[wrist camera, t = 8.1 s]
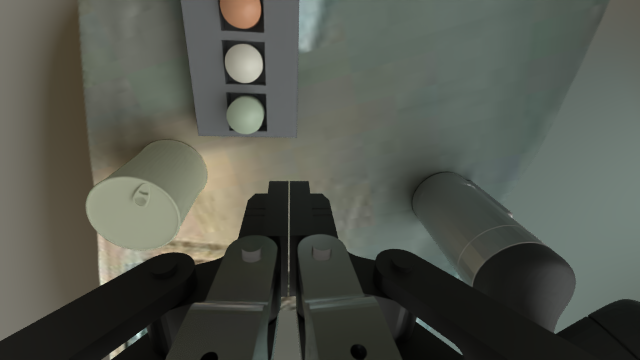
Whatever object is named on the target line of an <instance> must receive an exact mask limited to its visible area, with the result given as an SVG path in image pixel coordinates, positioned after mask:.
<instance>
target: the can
mask: <svg viewBox="0 0 640 360" xmlns="http://www.w3.org/2000/svg"><path fill="white" fill-rule="evenodd" d="M207 175H208V174H207V168H206V165H205V163H204V161H203V159H202V157H201V156H200V155H199V154H198V153H197V152H196V151H195V150H194V149H193V148H191V147H190V146H188V145H186V144H184V143H182V142H179V141H175V140H159V141H155V142H152V143H150V144H149V145H147V146H146V147H145V148H144V149H143V150H142V151H141V152H140V153H139V154H138V155H137V156H135V157H134V158H133V159H131V160H130V161H129V162H127V163H126V164H125V165H124V166H122V167H121V168H120V169H118V170H117V171H116V172H114V173H113V174H112V175H110V176H109V177H107V178H106V179H105V180H103V181H101V182H99V183H98V184H96V185H95V186H94V187H93V189H92V190H91V191H90V192H89V194H88V197H87V200H86V213H87V216H88V219H89V221H90V223H91V224H92V226H93V227H94V229H95V230H96V231H97V232H98V233H99V234H100V235H101V236H102V237H104V238H105V239H106V240H108V241H110V242H111V243H113V244H115V245H118V246H120V247H123V248H127V249H131V250H140V251H144V250H153V249H157V248H160V247H162V246H164V245H166V244H168V243H169V242H170V241H171V240H173V239H174V237H175V236H176V235H177V233H178V231H179V229H180V226H181V224H182V222H183V221H184V219H185V217H186V215H187V213H188V212H189V210H190V208H191V206H192V205H193V203H194V201H195V200H196V198H197V196H198V195H199V193H200V192H201V191H202V190H203V189H204V187H205V185H206V182H207Z"/></svg>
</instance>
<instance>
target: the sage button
mask: <svg viewBox="0 0 640 360" xmlns="http://www.w3.org/2000/svg"><path fill="white" fill-rule="evenodd" d="M264 114H265V111H264V106H263V104H262V103H261V101H260V100H259V99H258V98H256V97H255V96H252V95H241V96H239V97H237V98H236V99H235V100H234V101H233V102H232V103H231V105H230V106H229V107H228V110H227V114H226V115H227V121H228V123H229V125H230V126H231V128H232V129H233V130H235V131H236V132H238V133H241V134H251V133H254V132H256V131H257V130H258V129H259V128H260V126H261V124H262V121H263V118H264Z"/></svg>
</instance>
